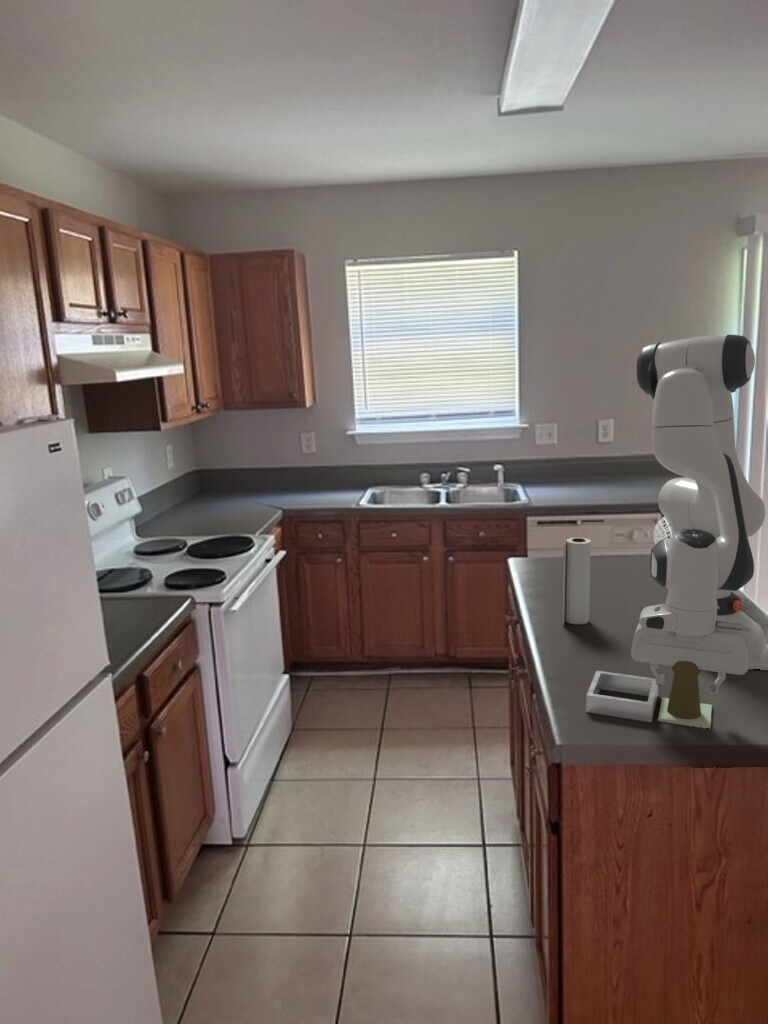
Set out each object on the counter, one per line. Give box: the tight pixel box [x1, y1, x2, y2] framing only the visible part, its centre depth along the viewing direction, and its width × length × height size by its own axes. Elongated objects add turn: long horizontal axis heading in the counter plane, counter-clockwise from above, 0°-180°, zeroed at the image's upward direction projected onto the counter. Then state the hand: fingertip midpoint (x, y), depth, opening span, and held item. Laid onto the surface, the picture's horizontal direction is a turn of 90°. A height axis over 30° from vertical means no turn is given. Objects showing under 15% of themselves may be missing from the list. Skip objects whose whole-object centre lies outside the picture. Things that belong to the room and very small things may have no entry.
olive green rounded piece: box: [667, 661, 702, 719], centre depth 144 cm, size 6×6×11 cm
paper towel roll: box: [562, 537, 592, 625], centre depth 193 cm, size 7×6×21 cm
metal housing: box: [585, 670, 659, 723], centre depth 150 cm, size 12×12×4 cm
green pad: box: [657, 697, 713, 730], centre depth 145 cm, size 9×9×1 cm
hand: (686, 688), depth 144 cm, fingers open, 8 cm apart
